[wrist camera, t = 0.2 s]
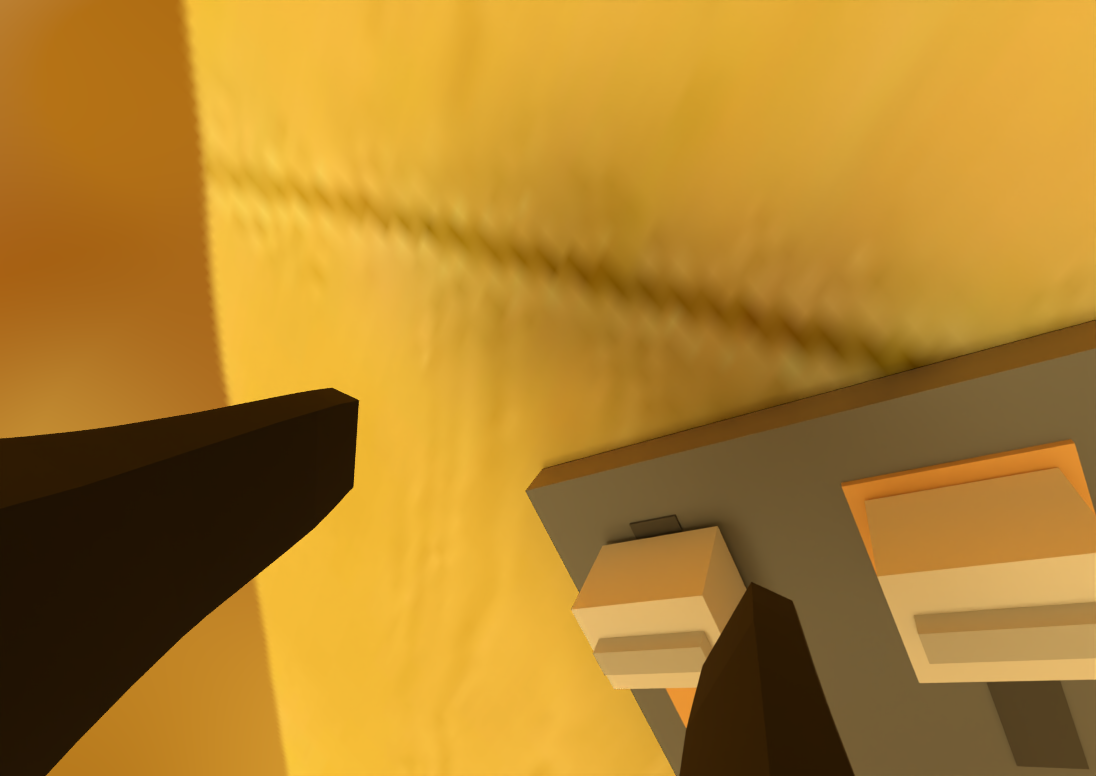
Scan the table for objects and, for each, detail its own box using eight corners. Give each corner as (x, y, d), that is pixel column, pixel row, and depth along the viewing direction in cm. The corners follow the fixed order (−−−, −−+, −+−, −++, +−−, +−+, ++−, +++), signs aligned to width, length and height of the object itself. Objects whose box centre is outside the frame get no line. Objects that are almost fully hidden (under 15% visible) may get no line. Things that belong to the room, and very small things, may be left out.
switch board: (1799, 797, 11) (1943, 893, 10) (688, 751, 23) (680, 791, 22) (1804, 129, 9) (2005, 127, 7) (542, 469, 21) (523, 494, 19)
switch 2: (1090, 574, 13) (1174, 703, 10) (899, 592, 15) (923, 703, 12) (1058, 467, 13) (1137, 569, 10) (864, 500, 15) (880, 594, 12)
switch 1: (754, 606, 17) (743, 704, 14) (638, 617, 19) (608, 705, 16) (717, 525, 17) (699, 610, 14) (602, 545, 19) (564, 623, 16)
